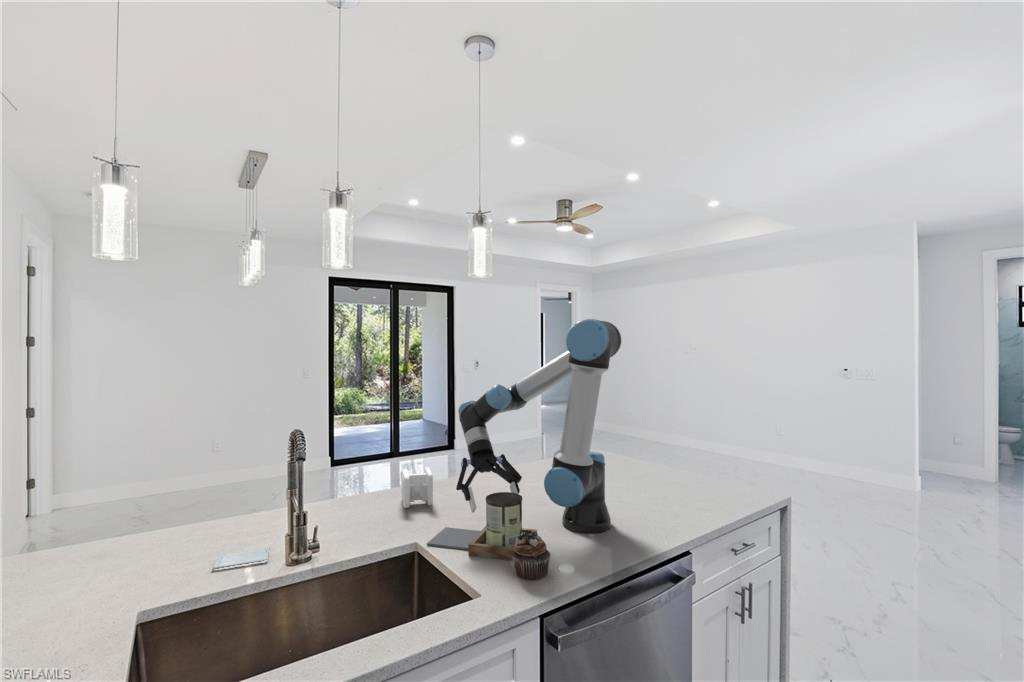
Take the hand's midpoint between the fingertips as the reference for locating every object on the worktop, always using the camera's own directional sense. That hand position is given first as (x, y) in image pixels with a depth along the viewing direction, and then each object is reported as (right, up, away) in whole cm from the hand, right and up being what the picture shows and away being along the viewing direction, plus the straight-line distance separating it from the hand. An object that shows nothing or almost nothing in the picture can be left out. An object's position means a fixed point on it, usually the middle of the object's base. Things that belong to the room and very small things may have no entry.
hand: (496, 507), depth 138 cm
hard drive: (-67, -11, -11) cm, 68 cm away
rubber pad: (-12, -10, +3) cm, 16 cm away
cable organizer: (-30, -11, +36) cm, 49 cm away
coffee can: (+2, -11, -3) cm, 11 cm away
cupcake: (+9, -10, -18) cm, 23 cm away
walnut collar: (+2, -10, -3) cm, 11 cm away
